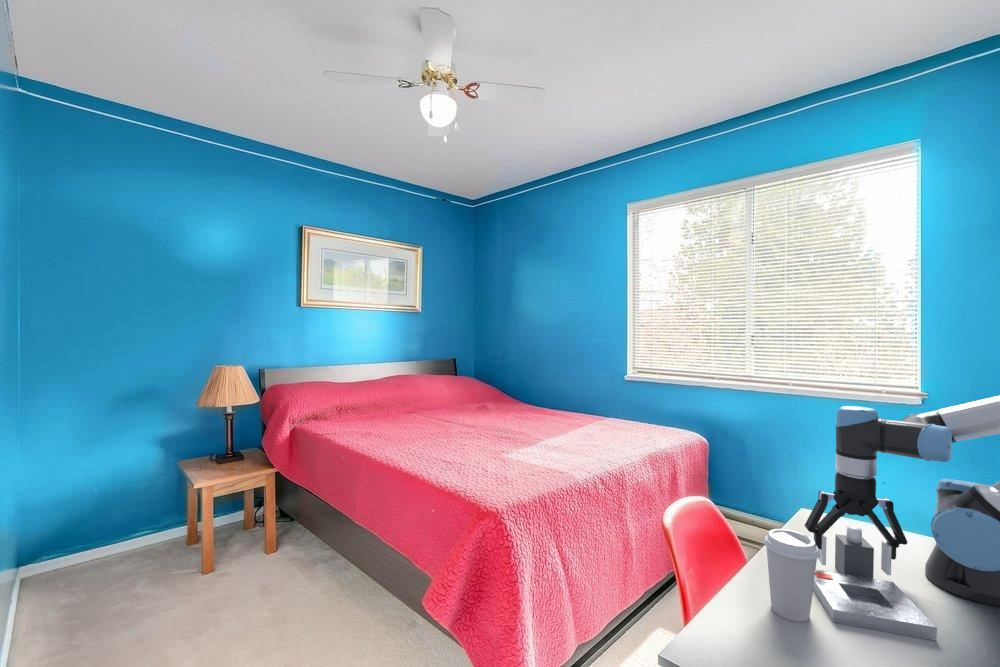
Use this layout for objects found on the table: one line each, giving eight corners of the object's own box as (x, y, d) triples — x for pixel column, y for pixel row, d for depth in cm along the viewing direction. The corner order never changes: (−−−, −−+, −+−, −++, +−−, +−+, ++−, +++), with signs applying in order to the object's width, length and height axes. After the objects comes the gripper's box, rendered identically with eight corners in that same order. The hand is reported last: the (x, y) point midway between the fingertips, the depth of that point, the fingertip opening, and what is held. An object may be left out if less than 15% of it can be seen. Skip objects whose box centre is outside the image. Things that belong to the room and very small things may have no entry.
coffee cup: (828, 630, 86) (830, 551, 85) (773, 623, 87) (774, 545, 87) (805, 601, 95) (806, 529, 95) (755, 595, 97) (756, 525, 97)
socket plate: (892, 593, 98) (893, 581, 98) (936, 641, 83) (936, 626, 83) (806, 579, 103) (806, 567, 103) (833, 622, 88) (833, 608, 88)
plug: (862, 571, 107) (863, 525, 107) (873, 583, 102) (874, 534, 102) (834, 567, 109) (835, 521, 109) (844, 579, 104) (844, 531, 103)
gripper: (910, 475, 105) (908, 568, 105) (790, 463, 113) (789, 550, 113) (929, 485, 98) (927, 585, 98) (800, 472, 105) (798, 565, 106)
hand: (853, 567), depth 105 cm, fingers open, 12 cm apart
